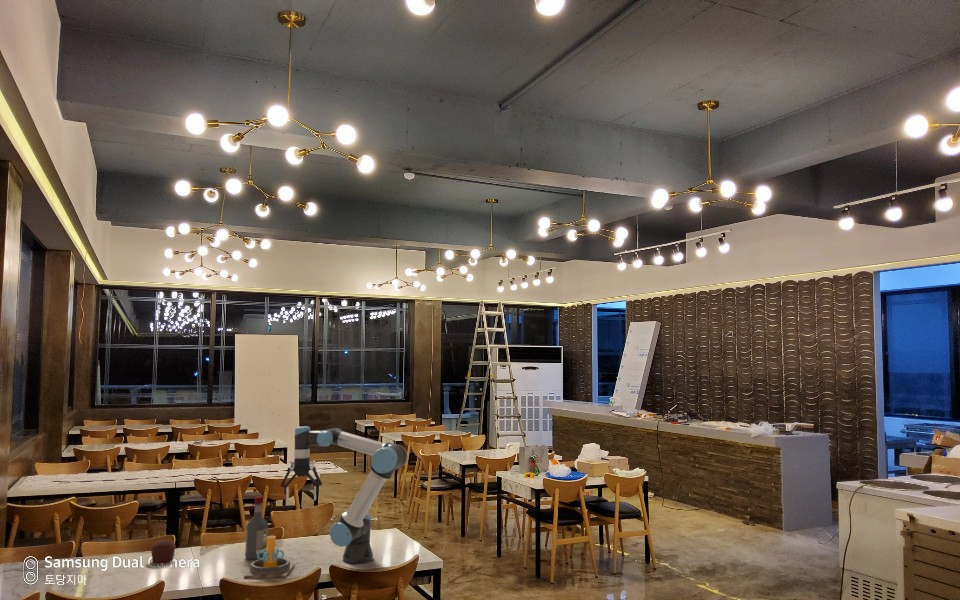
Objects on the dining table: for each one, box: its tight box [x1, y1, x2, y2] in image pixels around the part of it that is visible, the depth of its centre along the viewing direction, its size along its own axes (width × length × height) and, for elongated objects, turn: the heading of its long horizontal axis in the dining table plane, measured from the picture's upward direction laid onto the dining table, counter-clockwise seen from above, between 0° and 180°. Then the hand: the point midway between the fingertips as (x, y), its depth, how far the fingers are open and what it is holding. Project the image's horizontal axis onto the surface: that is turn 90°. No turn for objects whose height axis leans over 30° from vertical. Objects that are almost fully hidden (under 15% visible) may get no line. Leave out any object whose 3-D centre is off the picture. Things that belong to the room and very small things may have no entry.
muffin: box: [150, 539, 177, 565], centre depth 336 cm, size 12×11×10 cm
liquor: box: [244, 495, 269, 561], centre depth 345 cm, size 9×9×30 cm
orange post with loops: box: [257, 535, 285, 567], centre depth 321 cm, size 12×10×15 cm
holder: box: [243, 557, 296, 579], centre depth 320 cm, size 19×19×4 cm
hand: (301, 500), depth 340 cm, fingers open, 13 cm apart
